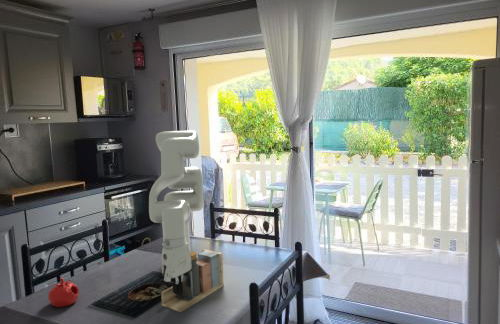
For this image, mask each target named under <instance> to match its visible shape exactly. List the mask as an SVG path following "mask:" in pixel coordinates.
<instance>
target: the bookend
mask: <svg viewBox="0 0 500 324" xmlns="http://www.w3.org/2000/svg"><path fill="white" fill-rule="evenodd" d="M182 285H183V293H182V294H180V295H176V296H175V297H177V298H180V299H183V300H186V301H190V300H192V299H194V298H193V280H192V271H188V272H186V273H185V276H184V281H183V282H182Z"/></svg>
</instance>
